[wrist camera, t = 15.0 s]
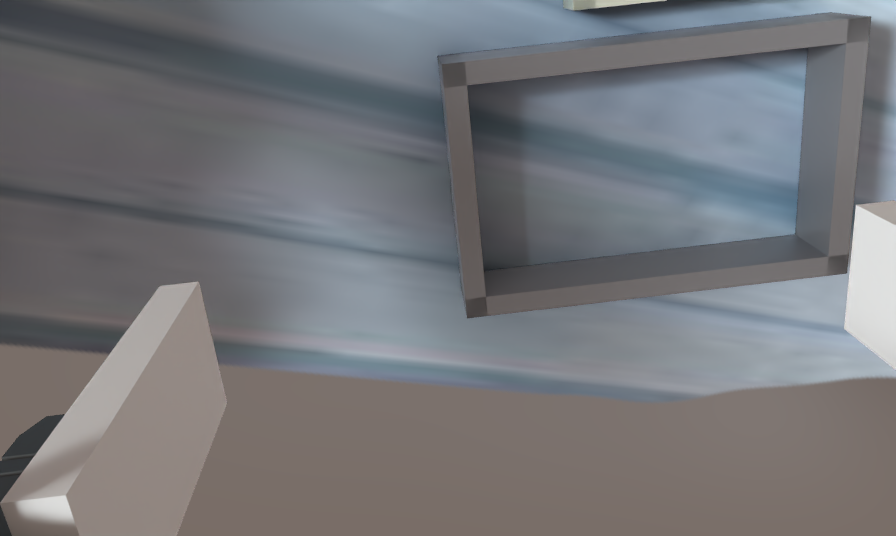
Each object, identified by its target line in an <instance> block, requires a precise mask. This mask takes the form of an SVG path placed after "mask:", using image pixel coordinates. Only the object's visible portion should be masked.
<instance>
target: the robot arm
mask: <svg viewBox="0 0 896 536" xmlns="http://www.w3.org/2000/svg"><path fill="white" fill-rule="evenodd" d="M844 329H845V330H846V331H848V332H849V333H850V334H851V335H853V336H854V337H855V338H856V339H857V340H859V341H860V342H861V343H862V344H864V345H865V346H866V347H867V348H869V349H870V350H871V351H872V352H874V353H875V354H876V355H877V356H879V357H880V358H881V359H882V360H884V361H885V362H886V363H887V364H888V365H890V366H891V367H892V368H893V369H895V370H896V201H886V202H877V203H868V204H860V205H856V210H855V221H854V231H853V242H852V252H851V263H850V273H849V284H848V294H847V305H846V315H845V326H844ZM226 405H227V399H226V395H225V391H224V386H223V382H222V378H221V373H220V369H219V365H218V361H217V356H216V352H215V348H214V344H213V339H212V335H211V331H210V327H209V322H208V318H207V314H206V310H205V305H204V301H203V297H202V293H201V289H200V284H199V281H198V282H189V283H181V284H172V285H164V286H159V288H158V289H157V290H156V292H155V293H154V294H153V296H152V297H151V298H150V300H149V301H148V303H147V304H146V305H145V307H144V308H143V309H142V311H141V312H140V313H139V315H138V316H137V317H136V319H135V320H134V322H133V323H132V324H131V326H130V327H129V328H128V330H127V331H126V332H125V334H124V335H123V336H122V338H121V339H120V341H119V342H118V343H117V345H116V346H115V347H114V349H113V350H112V351H111V353H110V354H109V355H108V357H107V358H106V360H105V361H104V362H103V364H102V365H101V366H100V368H99V369H98V370H97V372H96V373H95V375H94V376H93V377H92V379H91V380H90V381H89V383H88V384H87V385H86V387H85V388H84V390H83V391H82V392H81V394H80V395H79V396H78V398H77V399H76V400H75V402H74V403H73V404H72V406H71V407H70V408H69V410H68V411H67V413H66V414H63V415H54V416H47V417H45V418H44V419H42V420H41V421H39V422H38V423H37V424H35V425H34V426H32V427H31V428H30V429H28V430H27V431H25V432H24V433H23V434H21V435H20V436H19V437H18V438H17V439H16V440H15V442H14V443H13V444H12V445H11V447H10V448H9V449H8V450H7V452H6V453H5V454H4V455H3V456H2V461H0V536H176V535H177V533H178V530H179V528H180V525H181V522H182V520H183V517H184V515H185V512H186V509H187V507H188V504H189V501H190V499H191V496H192V494H193V491H194V488H195V486H196V483H197V480H198V478H199V475H200V473H201V470H202V467H203V465H204V462H205V460H206V457H207V455H208V452H209V449H210V447H211V444H212V442H213V439H214V436H215V434H216V431H217V429H218V426H219V423H220V421H221V418H222V416H223V413H224V410H225V408H226Z"/></svg>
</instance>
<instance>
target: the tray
mask: <svg viewBox="0 0 896 536" xmlns="http://www.w3.org/2000/svg"><path fill="white" fill-rule="evenodd" d="M656 1H665V0H563V8H565V9H569V10H573V11H574V10H583V9H592V8H602V7H611V6H620V5H629V4H638V3H647V2H656Z"/></svg>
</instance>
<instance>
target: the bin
mask: <svg viewBox="0 0 896 536" xmlns="http://www.w3.org/2000/svg"><path fill="white" fill-rule="evenodd" d="M870 23H871V17H869V16H860V15H851V14H841V13H832V12H830V13H821V14H812V15H803V16H794V17H785V18H776V19H767V20H758V21H749V22H740V23H731V24H722V25H713V26H704V27H694V28H685V29H676V30H667V31H658V32H649V33H640V34H631V35H622V36H613V37H604V38H595V39H586V40H577V41H568V42H559V43H550V44H541V45H532V46H523V47H513V48H504V49H495V50H486V51H477V52H468V53H459V54H450V55H441V56H438V65H439V75H440V85H441V94H442V104H443V114H444V124H445V134H446V143H447V153H448V163H449V173H450V183H451V192H452V202H453V212H454V222H455V231H456V241H457V251H458V261H459V271H460V280H461V290H462V296H463V301H464V305H465V310H466V315H467V318H474V317H482V316H491V315H499V314H507V313H516V312H524V311H533V310H541V309H550V308H558V307H567V306H575V305H583V304H592V303H600V302H609V301H617V300H626V299H634V298H643V297H651V296H660V295H668V294H676V293H685V292H693V291H702V290H710V289H719V288H727V287H736V286H744V285H752V284H761V283H769V282H778V281H786V280H795V279H803V278H812V277H820V276H829V275H837V274H845V273H847V267H848V256H849V246H850V235H851V225H852V214H853V203H854V193H855V182H856V171H857V161H858V150H859V140H860V129H861V118H862V108H863V97H864V86H865V76H866V65H867V55H868V44H869V33H870ZM807 47H808V53H807V68H806V83H805V98H804V113H803V128H802V143H801V158H800V173H799V188H798V203H797V218H796V233H795V235H787V236H778V237H770V238H761V239H753V240H744V241H736V242H727V243H719V244H710V245H701V246H693V247H684V248H676V249H667V250H659V251H650V252H642V253H633V254H625V255H616V256H607V257H599V258H590V259H582V260H573V261H565V262H556V263H548V264H539V265H531V266H522V267H513V268H505V269H496V270H488V271H484V269H483V258H482V247H481V236H480V225H479V214H478V202H477V191H476V180H475V169H474V158H473V147H472V136H471V125H470V113H469V102H468V91H467V85H475V84H484V83H493V82H502V81H511V80H520V79H529V78H538V77H547V76H556V75H565V74H574V73H582V72H591V71H600V70H609V69H618V68H627V67H636V66H645V65H654V64H663V63H672V62H681V61H690V60H699V59H708V58H717V57H726V56H735V55H744V54H753V53H762V52H771V51H780V50H789V49H798V48H807Z"/></svg>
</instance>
